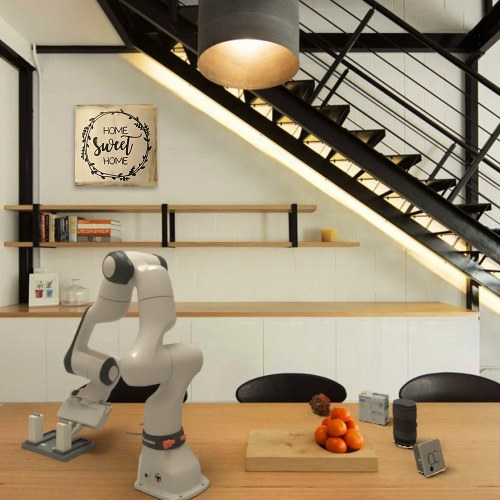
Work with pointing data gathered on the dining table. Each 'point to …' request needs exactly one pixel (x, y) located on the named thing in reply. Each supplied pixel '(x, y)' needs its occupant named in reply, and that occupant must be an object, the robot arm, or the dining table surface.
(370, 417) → the light bulb box
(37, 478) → the dining table surface
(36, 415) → the tab far
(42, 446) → the grey rectangular board
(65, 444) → the tab near
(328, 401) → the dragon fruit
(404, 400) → the camera lens
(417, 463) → the electrical switch
